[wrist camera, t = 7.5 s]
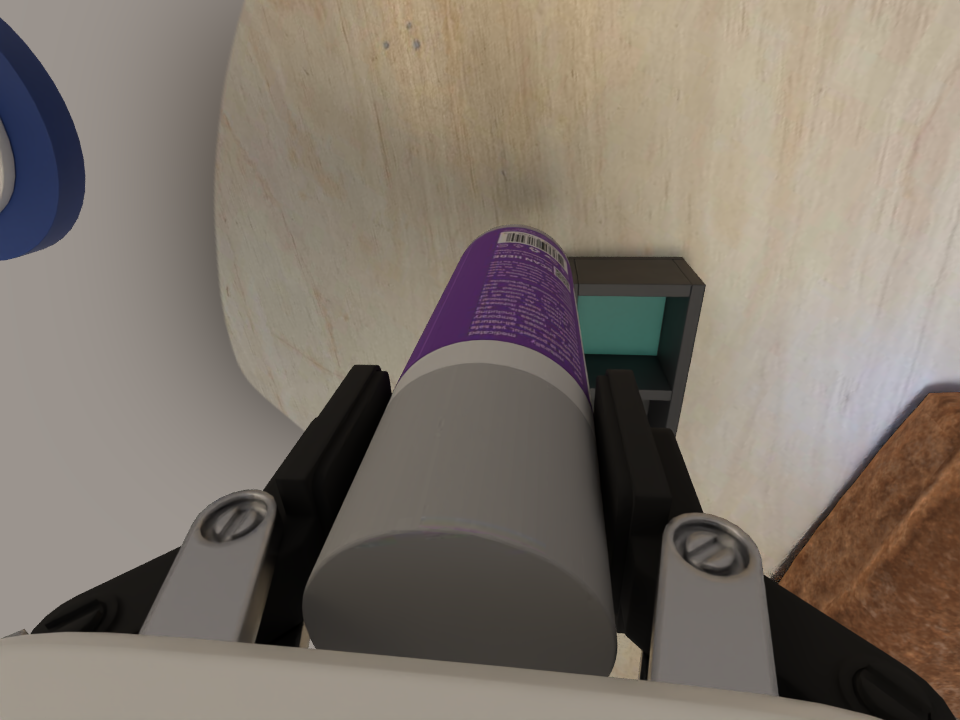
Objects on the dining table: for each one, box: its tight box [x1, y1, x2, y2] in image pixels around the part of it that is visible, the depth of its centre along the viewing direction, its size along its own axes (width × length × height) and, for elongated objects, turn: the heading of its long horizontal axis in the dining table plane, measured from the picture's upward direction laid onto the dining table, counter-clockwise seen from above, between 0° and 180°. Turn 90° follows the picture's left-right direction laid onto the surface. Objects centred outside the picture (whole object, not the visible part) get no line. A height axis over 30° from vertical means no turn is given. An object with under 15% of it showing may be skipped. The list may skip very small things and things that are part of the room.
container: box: [302, 224, 617, 677], centre depth 13 cm, size 5×5×15 cm
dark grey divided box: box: [567, 257, 706, 437], centre depth 35 cm, size 8×15×6 cm, turn 2°
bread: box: [778, 392, 960, 720], centre depth 38 cm, size 17×29×11 cm, turn 168°
